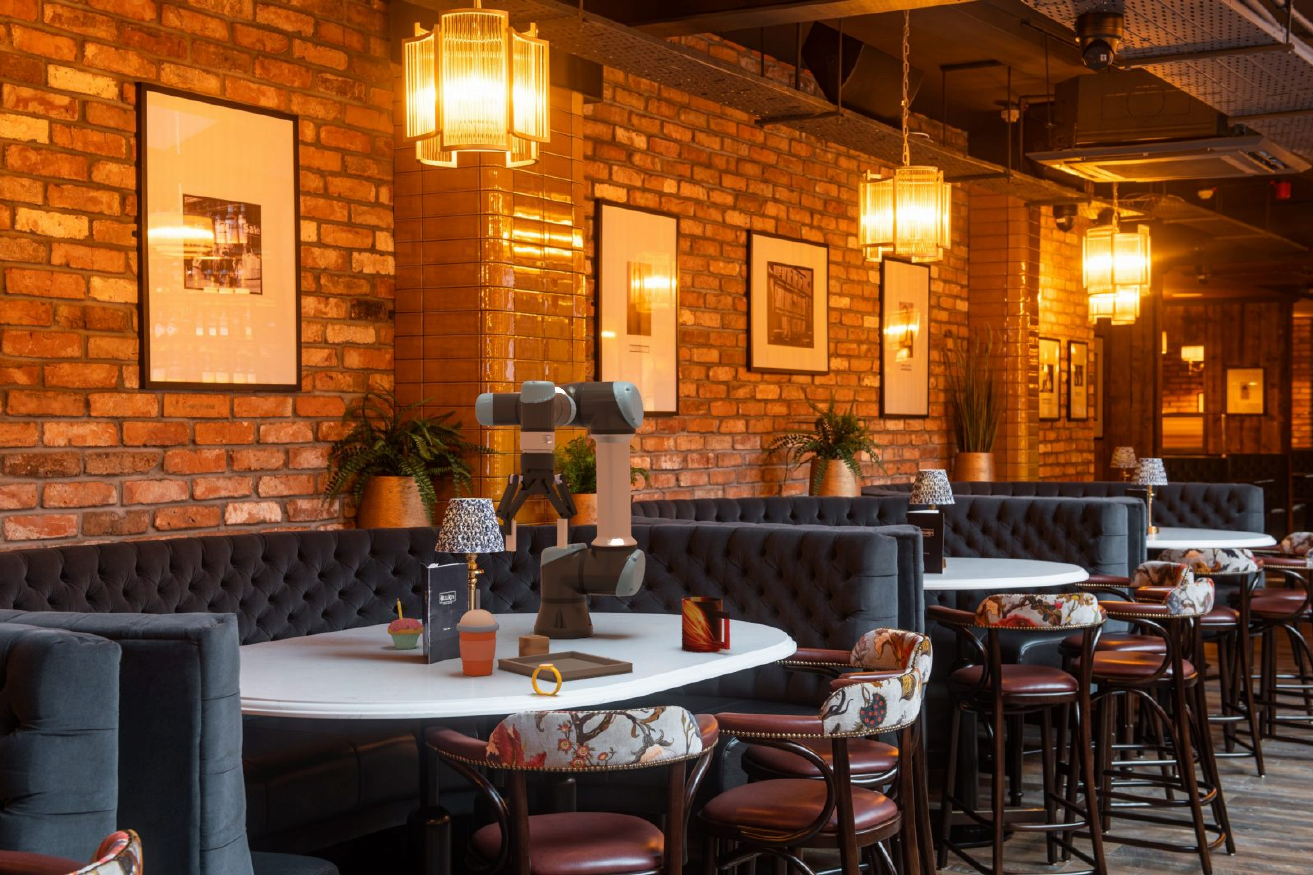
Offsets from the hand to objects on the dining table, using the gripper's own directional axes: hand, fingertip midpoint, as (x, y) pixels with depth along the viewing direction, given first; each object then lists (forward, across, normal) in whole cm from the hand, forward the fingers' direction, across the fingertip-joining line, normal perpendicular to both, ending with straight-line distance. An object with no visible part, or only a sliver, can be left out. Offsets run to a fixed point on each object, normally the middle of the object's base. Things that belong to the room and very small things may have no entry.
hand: (536, 549), depth 299 cm
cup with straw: (+26, -13, +4) cm, 29 cm away
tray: (+26, +4, -5) cm, 27 cm away
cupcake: (+26, -6, +46) cm, 53 cm away
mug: (+26, +48, -3) cm, 55 cm away
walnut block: (+26, +8, +13) cm, 30 cm away
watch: (+26, -16, -26) cm, 40 cm away
